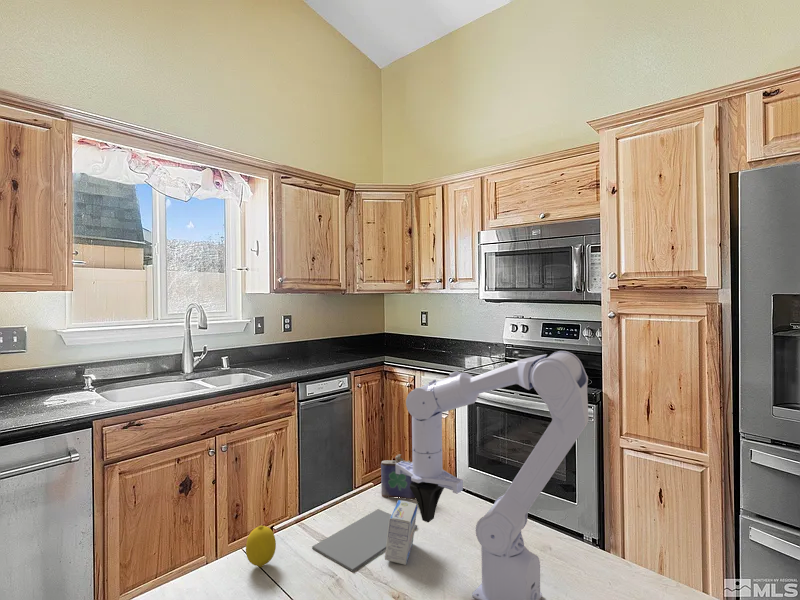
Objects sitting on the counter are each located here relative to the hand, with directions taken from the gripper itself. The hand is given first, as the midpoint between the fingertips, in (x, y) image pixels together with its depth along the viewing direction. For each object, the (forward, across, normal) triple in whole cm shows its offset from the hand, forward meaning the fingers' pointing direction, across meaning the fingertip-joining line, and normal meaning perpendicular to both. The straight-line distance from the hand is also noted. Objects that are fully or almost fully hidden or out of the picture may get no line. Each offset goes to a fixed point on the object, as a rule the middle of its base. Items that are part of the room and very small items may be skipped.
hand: (428, 519), depth 84 cm
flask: (+10, -24, +19) cm, 32 cm away
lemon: (+10, -26, -20) cm, 34 cm away
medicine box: (+9, -8, 0) cm, 12 cm away
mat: (+9, -16, 0) cm, 19 cm away
